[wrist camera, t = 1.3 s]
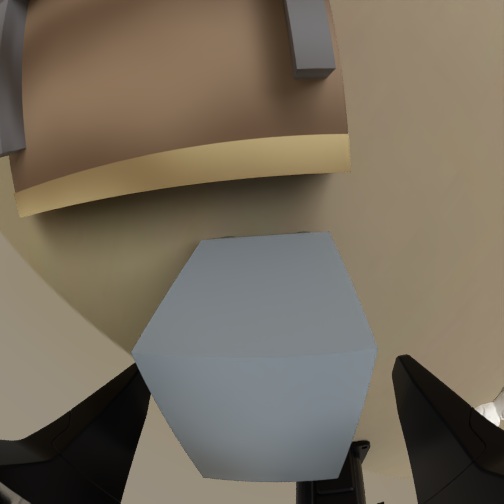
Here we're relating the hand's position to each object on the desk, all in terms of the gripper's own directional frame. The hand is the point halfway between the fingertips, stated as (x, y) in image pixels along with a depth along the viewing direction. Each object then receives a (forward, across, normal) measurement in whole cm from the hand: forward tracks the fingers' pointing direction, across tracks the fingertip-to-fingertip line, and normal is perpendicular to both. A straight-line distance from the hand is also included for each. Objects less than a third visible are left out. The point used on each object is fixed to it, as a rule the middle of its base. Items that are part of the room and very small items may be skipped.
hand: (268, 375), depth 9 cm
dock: (+5, +4, -13) cm, 14 cm away
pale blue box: (+5, 0, 0) cm, 5 cm away
